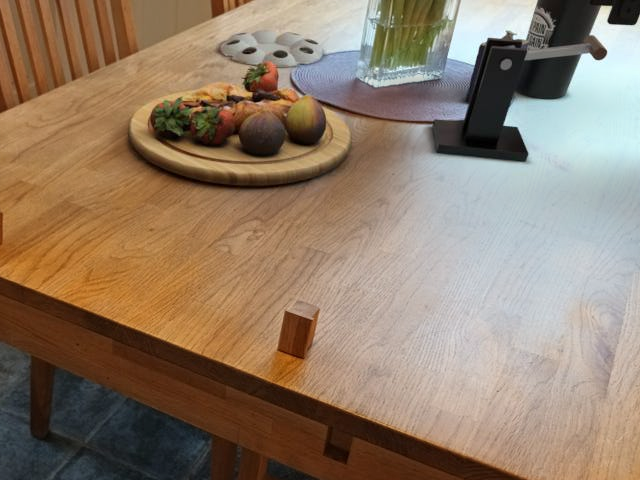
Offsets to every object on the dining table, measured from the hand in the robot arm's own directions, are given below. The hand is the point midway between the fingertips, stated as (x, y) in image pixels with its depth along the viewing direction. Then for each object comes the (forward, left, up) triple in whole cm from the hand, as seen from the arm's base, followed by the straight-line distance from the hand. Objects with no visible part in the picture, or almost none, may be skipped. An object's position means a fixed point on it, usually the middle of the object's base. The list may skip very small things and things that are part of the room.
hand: (610, 14), depth 91 cm
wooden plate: (+45, +8, -18) cm, 49 cm away
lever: (+6, 0, -6) cm, 9 cm away
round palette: (+45, -37, -18) cm, 61 cm away
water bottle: (-2, -27, -18) cm, 33 cm away
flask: (+7, -20, -18) cm, 28 cm away
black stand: (+11, 0, -18) cm, 21 cm away
